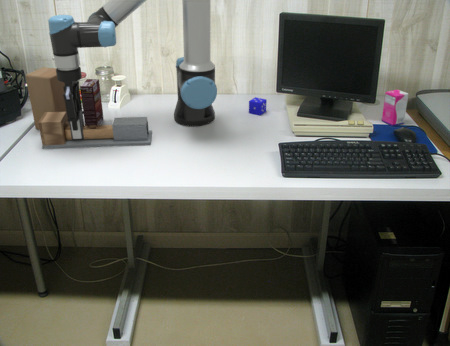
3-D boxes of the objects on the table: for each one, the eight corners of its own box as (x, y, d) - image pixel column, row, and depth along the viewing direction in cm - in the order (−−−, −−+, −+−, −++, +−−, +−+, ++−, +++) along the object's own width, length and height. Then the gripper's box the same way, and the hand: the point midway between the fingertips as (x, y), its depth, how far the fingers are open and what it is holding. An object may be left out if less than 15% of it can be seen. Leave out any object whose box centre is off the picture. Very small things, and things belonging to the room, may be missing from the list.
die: (248, 113, 191) (248, 100, 188) (254, 109, 195) (255, 97, 192) (260, 115, 188) (260, 103, 186) (266, 111, 192) (266, 99, 190)
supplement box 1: (98, 129, 177) (92, 86, 170) (85, 129, 177) (78, 86, 170) (104, 120, 185) (99, 78, 177) (91, 120, 185) (86, 78, 177)
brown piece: (120, 134, 170) (117, 106, 165) (119, 138, 167) (115, 110, 162) (54, 136, 169) (49, 108, 164) (52, 140, 166) (46, 112, 161)
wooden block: (75, 122, 183) (67, 69, 173) (59, 133, 174) (49, 77, 165) (52, 119, 186) (43, 66, 176) (35, 129, 177) (24, 74, 168)
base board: (152, 133, 174) (151, 130, 174) (150, 145, 166) (150, 142, 165) (49, 136, 172) (49, 133, 172) (42, 148, 163) (42, 145, 163)
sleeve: (148, 132, 172) (147, 116, 170) (147, 140, 166) (146, 124, 164) (116, 133, 172) (114, 117, 169) (114, 141, 166) (112, 125, 163)
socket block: (69, 133, 172) (66, 111, 168) (64, 144, 164) (60, 121, 160) (49, 134, 171) (45, 112, 167) (42, 145, 163) (38, 122, 160)
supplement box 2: (392, 118, 186) (397, 88, 180) (404, 123, 181) (409, 93, 176) (380, 120, 184) (385, 91, 178) (391, 126, 179) (396, 96, 174)
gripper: (61, 60, 163) (72, 126, 175) (49, 75, 149) (62, 146, 160) (84, 59, 164) (93, 125, 175) (75, 74, 149) (85, 145, 160)
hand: (78, 135), depth 167 cm, fingers closed on brown piece, 3 cm apart
